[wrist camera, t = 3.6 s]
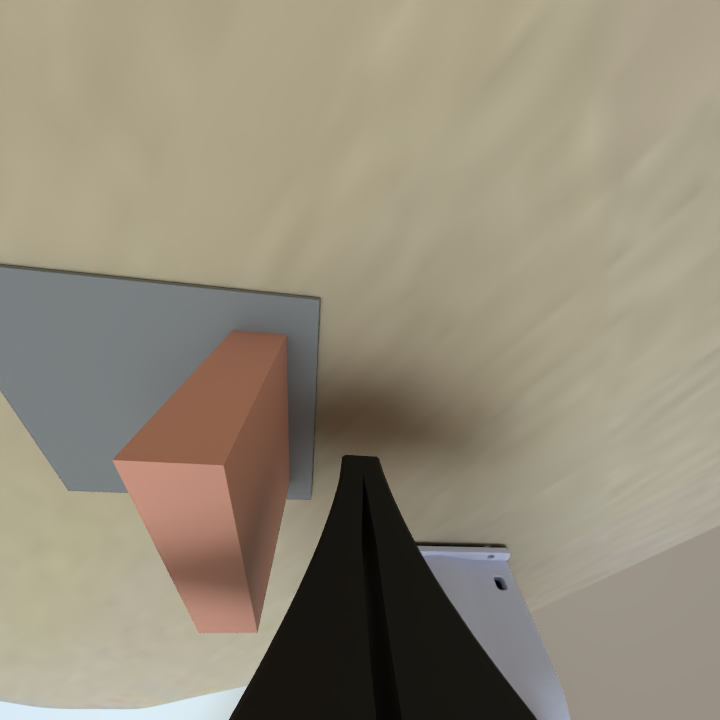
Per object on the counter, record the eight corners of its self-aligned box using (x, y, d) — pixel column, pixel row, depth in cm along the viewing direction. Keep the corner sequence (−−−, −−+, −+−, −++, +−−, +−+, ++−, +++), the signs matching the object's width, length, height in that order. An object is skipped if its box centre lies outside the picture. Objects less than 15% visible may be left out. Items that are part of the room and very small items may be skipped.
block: (286, 334, 10) (223, 465, 5) (289, 482, 15) (257, 632, 10) (233, 329, 10) (111, 460, 5) (252, 481, 15) (199, 632, 9)
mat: (320, 297, 10) (319, 300, 10) (311, 495, 16) (310, 499, 16) (-77, 256, 9) (-90, 258, 9) (73, 485, 15) (68, 490, 15)
